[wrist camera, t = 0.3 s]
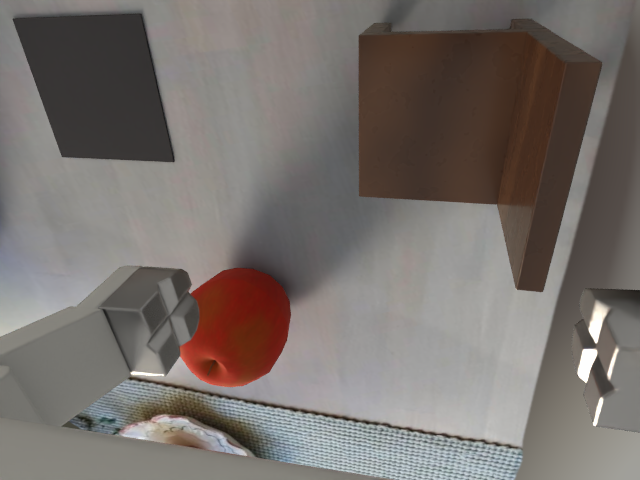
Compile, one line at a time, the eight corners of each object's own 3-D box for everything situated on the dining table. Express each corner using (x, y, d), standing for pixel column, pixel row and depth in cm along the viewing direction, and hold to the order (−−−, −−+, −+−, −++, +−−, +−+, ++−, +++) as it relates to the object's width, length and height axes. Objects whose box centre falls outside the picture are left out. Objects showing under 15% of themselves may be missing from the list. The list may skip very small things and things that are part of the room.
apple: (250, 231, 43) (194, 308, 33) (323, 301, 45) (290, 392, 35) (192, 281, 48) (129, 360, 38) (260, 342, 50) (216, 431, 40)
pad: (141, 13, 34) (140, 13, 34) (174, 161, 41) (173, 162, 40) (13, 18, 37) (12, 18, 37) (62, 156, 43) (61, 156, 43)
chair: (530, 17, 29) (603, 61, 15) (504, 164, 34) (543, 293, 21) (374, 22, 31) (322, 64, 18) (372, 159, 36) (330, 272, 23)
